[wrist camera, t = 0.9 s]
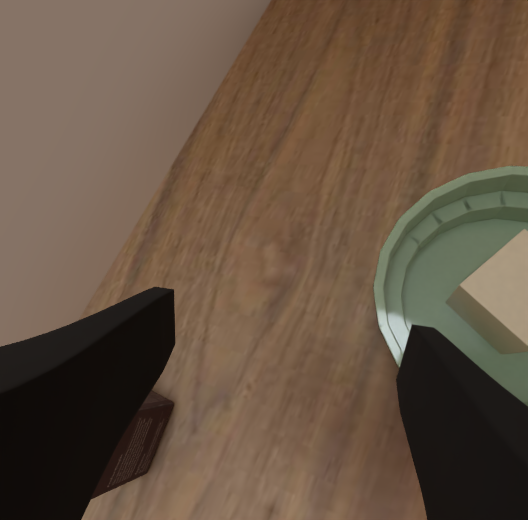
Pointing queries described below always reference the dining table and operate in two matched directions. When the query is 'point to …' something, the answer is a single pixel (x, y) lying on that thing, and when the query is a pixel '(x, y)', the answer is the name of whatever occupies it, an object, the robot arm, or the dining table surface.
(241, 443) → the dining table surface
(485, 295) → the block
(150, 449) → the box
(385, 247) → the green bowl
